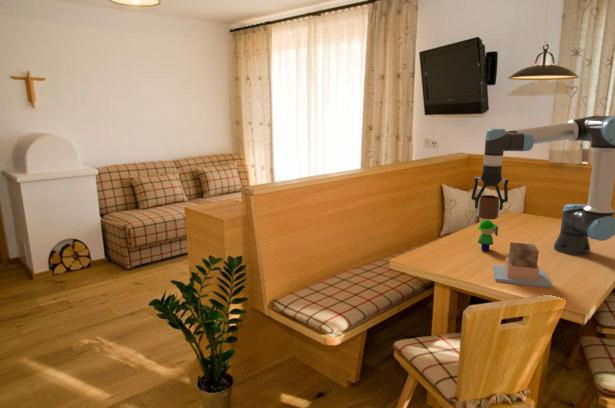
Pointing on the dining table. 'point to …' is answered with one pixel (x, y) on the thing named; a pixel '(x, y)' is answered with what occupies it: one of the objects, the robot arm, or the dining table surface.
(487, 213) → the mug
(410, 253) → the dining table surface
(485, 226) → the toy
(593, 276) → the dining table surface
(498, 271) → the plate
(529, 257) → the walnut block
